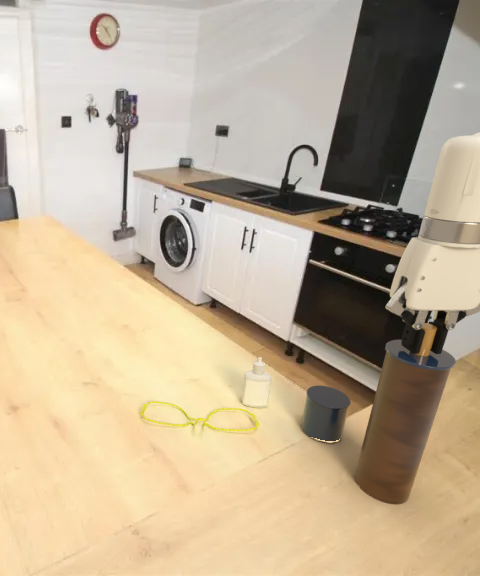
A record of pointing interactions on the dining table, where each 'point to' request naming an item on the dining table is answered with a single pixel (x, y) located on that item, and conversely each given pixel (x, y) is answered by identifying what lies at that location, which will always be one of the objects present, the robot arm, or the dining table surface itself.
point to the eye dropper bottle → (256, 386)
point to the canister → (325, 413)
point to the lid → (422, 352)
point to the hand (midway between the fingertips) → (420, 348)
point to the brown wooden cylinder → (398, 429)
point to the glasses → (200, 418)
